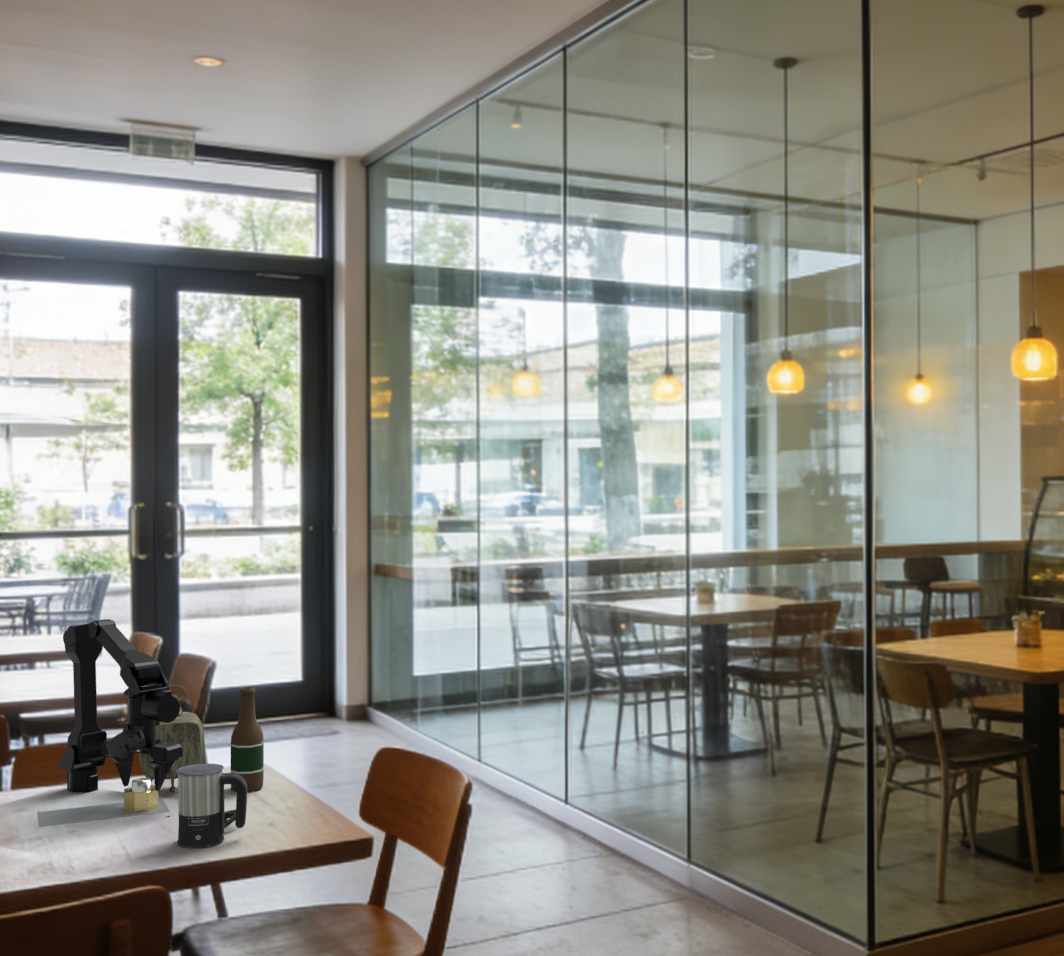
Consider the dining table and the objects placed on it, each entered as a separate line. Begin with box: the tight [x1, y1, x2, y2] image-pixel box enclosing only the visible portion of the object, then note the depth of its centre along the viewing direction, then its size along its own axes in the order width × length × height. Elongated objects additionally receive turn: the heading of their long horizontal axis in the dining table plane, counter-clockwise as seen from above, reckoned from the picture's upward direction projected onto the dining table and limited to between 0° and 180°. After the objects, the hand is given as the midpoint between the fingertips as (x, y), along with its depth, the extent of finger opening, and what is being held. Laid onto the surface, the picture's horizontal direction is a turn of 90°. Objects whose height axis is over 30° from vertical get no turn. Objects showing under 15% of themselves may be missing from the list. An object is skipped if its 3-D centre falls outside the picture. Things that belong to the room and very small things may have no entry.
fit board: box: [37, 777, 171, 828], centre depth 244 cm, size 26×12×7 cm, turn 115°
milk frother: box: [176, 763, 248, 849], centre depth 230 cm, size 14×16×15 cm
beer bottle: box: [230, 686, 265, 793], centre depth 267 cm, size 8×8×24 cm
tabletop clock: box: [138, 684, 206, 794], centre depth 265 cm, size 14×9×25 cm, turn 114°
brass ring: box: [123, 784, 159, 812], centre depth 247 cm, size 7×7×4 cm
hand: (141, 788), depth 247 cm, fingers open, 9 cm apart
